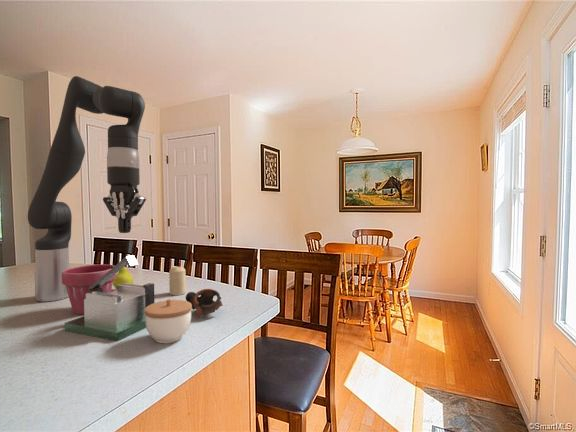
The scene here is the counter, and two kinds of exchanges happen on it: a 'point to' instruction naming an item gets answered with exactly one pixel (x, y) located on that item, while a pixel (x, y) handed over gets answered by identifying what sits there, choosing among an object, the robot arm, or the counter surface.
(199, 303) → the brown glossy rounded piece
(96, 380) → the counter surface
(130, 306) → the heat sink board
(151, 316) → the lidded jar
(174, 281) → the candle
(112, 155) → the robot arm
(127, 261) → the grey long bar
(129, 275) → the fruit
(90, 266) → the plant pot
